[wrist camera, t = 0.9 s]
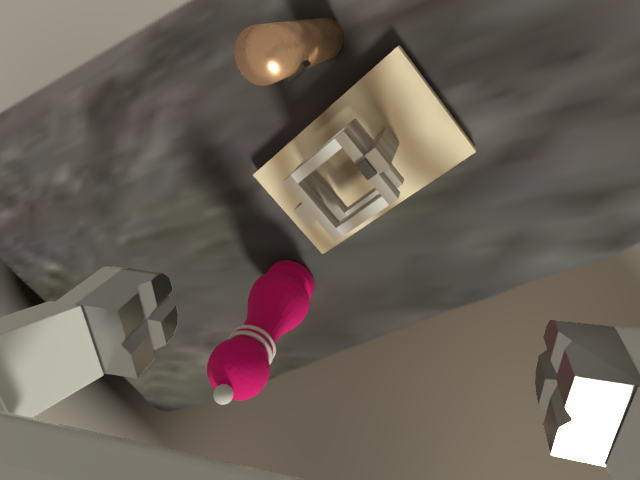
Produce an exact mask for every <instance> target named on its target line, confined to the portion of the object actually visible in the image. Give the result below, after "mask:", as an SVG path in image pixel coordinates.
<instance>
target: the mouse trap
mask: <svg viewBox="0 0 640 480" xmlns="http://www.w3.org/2000/svg"><path fill="white" fill-rule="evenodd" d="M475 152H476V147H475V146H474V145H473V143H472V142H471V141H470V139H469V138H468V137H467V135H466V134H465V132H464V131H463V130H462V128H461V127H460V126H459V124H458V123H457V122H456V120H455V119H454V118H453V116H452V115H451V114H450V112H449V111H448V109H447V108H446V107H445V105H444V104H443V103H442V101H441V100H440V99H439V97H438V96H437V95H436V93H435V92H434V91H433V89H432V88H431V87H430V85H429V84H428V82H427V81H426V80H425V78H424V77H423V76H422V74H421V73H420V72H419V70H418V69H417V68H416V66H415V65H414V64H413V62H412V61H411V59H410V58H409V57H408V55H407V54H406V53H405V51H404V50H403V49H402V47H401V46H400V45H399V46H397V47H396V48H395V49H394V50H393V51H392V52H391V53H390V54H388V55H387V56H386V57H385V58H384V59H383V60H382V61H381V62H379V63H378V64H377V65H376V66H375V67H374V68H373V69H372V70H370V71H369V72H368V73H367V74H366V75H365V76H364V77H363V78H361V79H360V80H359V81H358V82H357V83H356V84H355V85H354V86H352V87H351V88H350V89H349V90H348V91H347V92H346V93H345V94H343V95H342V96H341V97H340V98H339V99H338V100H337V101H336V102H334V103H333V104H332V105H331V106H330V107H329V108H328V109H327V110H325V111H324V112H323V113H322V114H321V115H320V116H319V117H318V118H316V119H315V120H314V121H313V122H312V123H311V124H310V125H309V126H307V127H306V128H305V129H304V130H303V131H302V132H301V133H300V134H298V135H297V136H296V137H295V138H294V139H293V140H292V141H291V142H289V143H288V144H287V145H286V146H285V147H284V148H283V149H282V150H280V151H279V152H278V153H277V154H276V155H275V156H274V157H273V158H271V159H270V160H269V161H268V162H267V163H266V164H265V165H264V166H263V167H261V168H260V169H259V170H258V171H257V172H256V173H255V174H254V175H253V176H254V177H255V178H256V179H257V180H258V182H259V183H260V184H261V185H262V186H263V187H264V188H265V189H266V191H267V192H268V193H269V194H270V195H271V196H272V197H273V199H274V200H275V201H276V202H277V203H278V204H279V205H280V207H281V208H282V209H283V210H284V211H285V212H286V213H287V214H288V216H289V217H290V218H291V219H292V220H293V221H294V222H295V224H296V225H297V226H298V227H299V228H300V229H301V230H302V231H303V233H304V234H305V235H306V236H307V237H308V238H309V239H310V241H311V242H312V243H313V244H314V245H315V246H316V247H317V248H318V250H319V251H320V252H321V253H322V254H324V253H325V252H327V251H328V250H330V249H331V248H333V247H334V246H336V245H337V244H339V243H340V242H342V241H343V240H345V239H346V238H348V237H349V236H351V235H352V234H354V233H355V232H357V231H358V230H360V229H361V228H363V227H364V226H366V225H367V224H369V223H370V222H372V221H373V220H375V219H376V218H378V217H379V216H381V215H382V214H384V213H385V212H387V211H388V210H390V209H391V208H393V207H394V206H396V205H397V204H399V203H400V202H402V201H403V200H405V199H406V198H408V197H409V196H411V195H412V194H414V193H415V192H417V191H418V190H420V189H421V188H423V187H424V186H426V185H427V184H429V183H430V182H432V181H433V180H435V179H436V178H438V177H439V176H441V175H442V174H444V173H445V172H447V171H448V170H450V169H451V168H453V167H454V166H456V165H457V164H459V163H460V162H461V161H463V160H464V159H466V158H467V157H469V156H470V155H472V154H473V153H475Z"/></svg>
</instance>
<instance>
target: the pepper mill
mask: <svg viewBox="0 0 640 480" xmlns="http://www.w3.org/2000/svg"><path fill="white" fill-rule="evenodd" d="M313 291H314V279H313V277H312V275H311V273H310V272H309V270H308V269H306V268H305V267H304V266H303V265H301V264H300V263H297V262H295V261H290V260H283V261H279V262H276V263H275V264H273V265H272V266H271V268H270V269H269V270H268V272H267V273H266V274H264V275H263V276H261V277H260V278H259V279H257V281H256V282H255V283H254V285H253V287H252V289H251V291H250V294H249V298H248V314H247V319H246V321H245V323H244V325H242V326H239V327H237V328H236V329H234V330H233V332H232V334H231V335H230V336H229V338H228V340H226V341H224V342H222V343H221V344H219V345H218V346H217V347H216V348H215V349H214V350H213V352H212V354H211V356H210V358H209V361H208V364H207V375H208V378H209V382H210V383H211V385H212V387H213V388H214V389H215V390H214V394H213V397H214V399H215V401H216V402H217V403H218V404H227V403H229V402H230V401H231V400H246V399H249V398H251V397H253V396H255V395H256V394H258V393H259V392H260V391H261V390H262V388H263V387H264V386H265V384H266V382H267V380H268V378H269V374H270V364H271V362H272V359H273V358H274V356H275V353H276V346H275V343H276V341H277V340H278V338H279V337H280V336H282V335H283V334H285V333H287V332H289V331H290V330H292V329H294V328H295V327H296V326H297V325H298V324H300V323H301V322H302V320H303V319H304V317H305V316H306V314H307V312H308V310H309V305H310V303H309V299H310V297H311V295H312V293H313Z"/></svg>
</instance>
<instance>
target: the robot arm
mask: <svg viewBox="0 0 640 480" xmlns="http://www.w3.org/2000/svg"><path fill="white" fill-rule="evenodd" d="M172 290H173V289H172V285H171V281H170V278H169V277H168V276H167V275H165V274H164V273H157V272H150V271H143V270H136V269H129V268H128V269H127V268H122V267H113V266H108V267H103V268H101V269H100V270H98V271H97V272H96V273H94V274H93V275H92V276H90V277H89V278H87V279H86V280H85V281H83V282H82V283H80V284H79V285H78V286H76V287H75V288H74V289H72V290H71V291H69V292H68V293H67V294H65V295H64V296H63V297H61V298H60V299H58V300H57V301H56V302H51V301H49V302H46V303H43V304H40V305H36V306H33V307H30V308H28V309H24V310H22V311H19V312H15V313H12V314H10V315H6V316H3V317H0V480H307V479H302V478H298V477H294V476H289V475H285V474H280V473H276V472H272V471H266V470H263V469H258V468H254V467H249V466H245V465H240V464H236V463H231V462H227V461H222V460H218V459H213V458H209V457H204V456H200V455H196V454H191V453H186V452H182V451H178V450H173V449H169V448H164V447H160V446H155V445H150V444H146V443H142V442H137V441H133V440H129V439H124V438H119V437H115V436H110V435H106V434H101V433H97V432H93V431H88V430H84V429H79V428H75V427H70V426H66V425H62V424H57V423H52V422H48V421H44V420H39V419H35V418H32V417H34V416H35V415H37V414H39V413H41V412H42V411H44V410H45V409H47V408H49V407H50V406H52V405H54V404H56V403H57V402H59V401H61V400H62V399H64V398H66V397H68V396H69V395H71V394H73V393H74V392H76V391H77V390H79V389H81V388H83V387H84V386H86V385H88V384H89V383H91V382H93V381H95V380H96V379H98V378H100V377H101V376H103V375H104V374H103V373H106V374H112V375H119V376H125V377H132V378H138V377H139V376H140V375H141V374H142V373H143V371H144V370H145V369H146V368H147V367H148V365H149V364H150V363H151V362H152V361H153V360H154V358H155V350H156V349H158V348H160V347H162V346H164V345H166V344H167V343H168V342H169V341H170V339H171V338H172V337H173V335H174V332H175V330H176V327H177V324H178V312H177V307H176V305H175V304H174V303H173V301H172V300H171V299H170V298H169V295H170V294H171V292H172ZM544 340H545V343H546V347H547V350H546V351H545V352H543V353H542V354H541V355H539V358H538V363H537V368H536V380H535V385H536V395H537V400H538V404H539V405H540V406H541V407H542V408H543V409H544V410H545V411H546V415H545V419H544V423H543V425H544V429H545V433H546V437H547V442H548V445H549V449H550V453H551V455H554V456H558V457H563V458H568V459H573V460H577V461H582V462H587V463H592V464H597V465H601V466H606V467H605V469H606V471H607V472H608V473H609V474H610V475H611V476H612V477H613V479H614V480H640V328H631V327H619V326H603V325H594V324H584V323H574V322H565V321H555V320H550V321H549V323H548V325H547V327H546V331H545V335H544Z"/></svg>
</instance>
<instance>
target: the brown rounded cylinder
mask: <svg viewBox="0 0 640 480" xmlns="http://www.w3.org/2000/svg"><path fill="white" fill-rule="evenodd" d="M342 46H343V32H342V29H341V27H340V26H339V25H338V23H337V22H335V21H334V20H332V19H330V18H317V19H307V20H297V21H287V22H277V23H267V24H257V25H252V26H249V27H247V28H246V29H245V30H243V31H242V32H241V34H240V35H239V37H238V39H237V41H236V45H235V60H236V63H237V66H238V68H239V70H240V72H241V73H242V75H243V76H244V77H245V78H246V79H247V80H249V81H250V82H252V83H254V84H257V85H261V86H265V85H270V84H273V83H275V82H278V81H280V80H282V79H285V78H286V79H287V80H288V81H289V82H291V81H293V80H295V79H297V78H298V77H299V76H300V75H301V74H302V73H303V72H304V71H305V70H306V69H308V68H310V67H312V66H315V65H317V64H319V63H322V62H324V61H326V60H329V59H331V58H333V57H335V56H336V55H337V54H338V53H339V52H340V50H341V48H342Z"/></svg>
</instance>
